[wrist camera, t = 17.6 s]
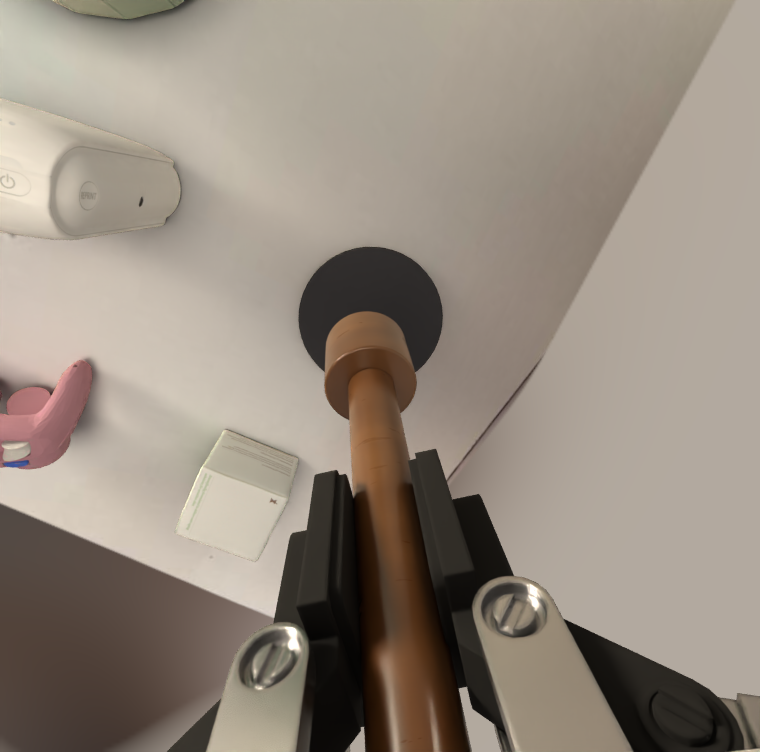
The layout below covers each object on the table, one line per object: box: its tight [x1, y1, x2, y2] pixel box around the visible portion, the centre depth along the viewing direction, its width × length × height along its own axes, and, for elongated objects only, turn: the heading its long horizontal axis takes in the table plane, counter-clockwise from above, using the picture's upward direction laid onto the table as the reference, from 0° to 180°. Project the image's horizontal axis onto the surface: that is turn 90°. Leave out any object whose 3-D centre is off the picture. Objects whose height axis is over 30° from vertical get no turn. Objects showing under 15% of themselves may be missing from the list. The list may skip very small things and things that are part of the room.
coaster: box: [299, 247, 443, 372], centre depth 29 cm, size 9×9×1 cm
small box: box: [175, 430, 298, 562], centre depth 30 cm, size 6×6×5 cm
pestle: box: [324, 311, 472, 752], centre depth 12 cm, size 3×3×14 cm
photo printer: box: [0, 98, 181, 240], centre depth 19 cm, size 10×4×12 cm, turn 73°
